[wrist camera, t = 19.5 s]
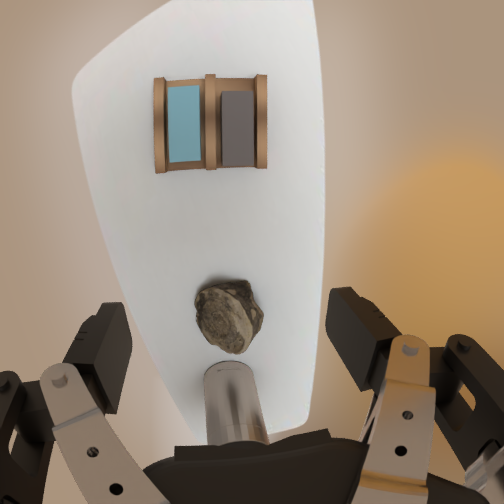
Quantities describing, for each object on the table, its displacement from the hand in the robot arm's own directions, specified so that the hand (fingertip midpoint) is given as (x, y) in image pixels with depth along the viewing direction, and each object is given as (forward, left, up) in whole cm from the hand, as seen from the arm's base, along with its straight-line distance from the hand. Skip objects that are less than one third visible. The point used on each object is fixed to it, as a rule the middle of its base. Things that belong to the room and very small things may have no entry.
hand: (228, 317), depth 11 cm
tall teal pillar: (+9, +3, -29) cm, 31 cm away
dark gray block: (+8, -3, -29) cm, 30 cm away
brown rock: (-18, -1, -30) cm, 35 cm away
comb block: (+9, 0, -30) cm, 31 cm away
